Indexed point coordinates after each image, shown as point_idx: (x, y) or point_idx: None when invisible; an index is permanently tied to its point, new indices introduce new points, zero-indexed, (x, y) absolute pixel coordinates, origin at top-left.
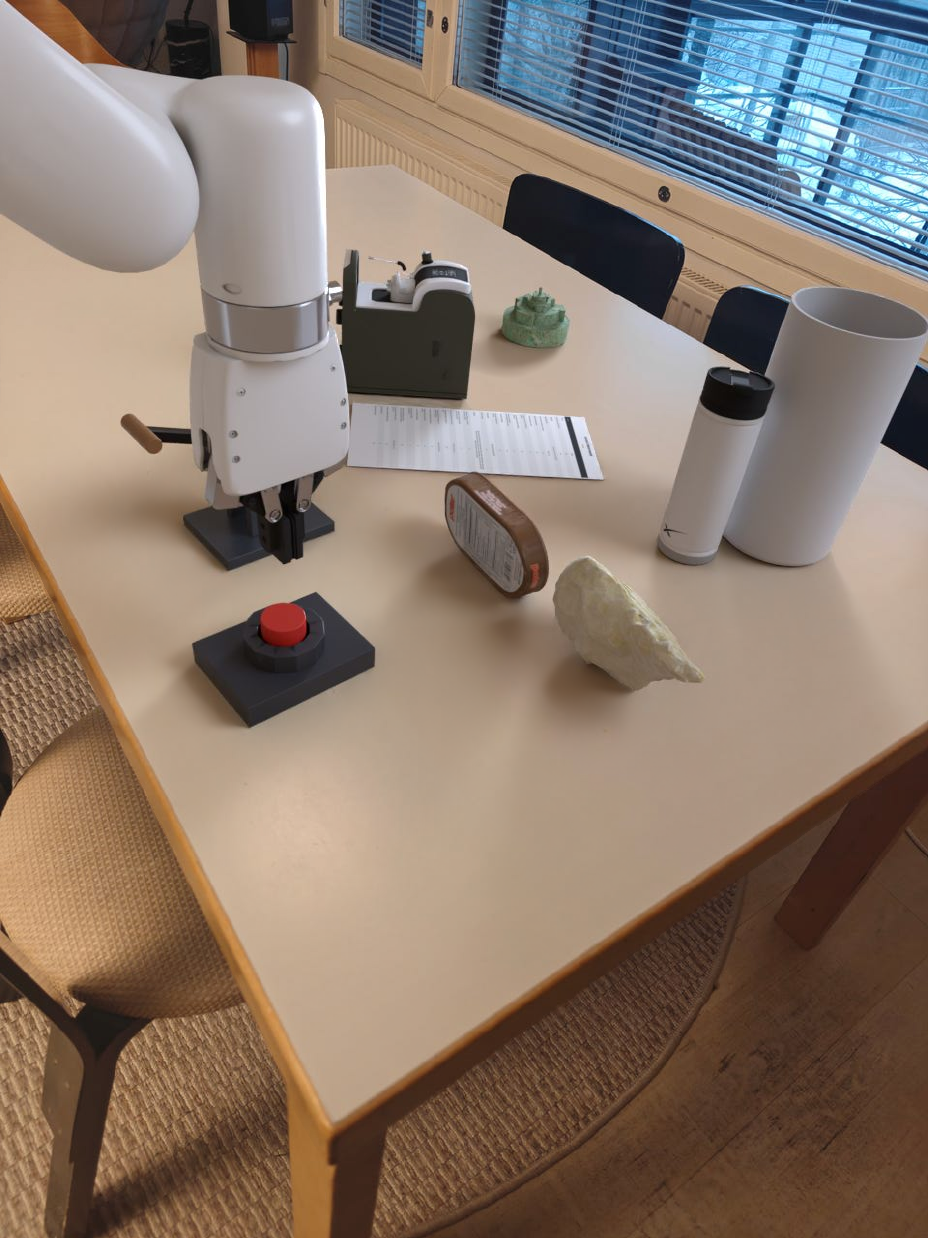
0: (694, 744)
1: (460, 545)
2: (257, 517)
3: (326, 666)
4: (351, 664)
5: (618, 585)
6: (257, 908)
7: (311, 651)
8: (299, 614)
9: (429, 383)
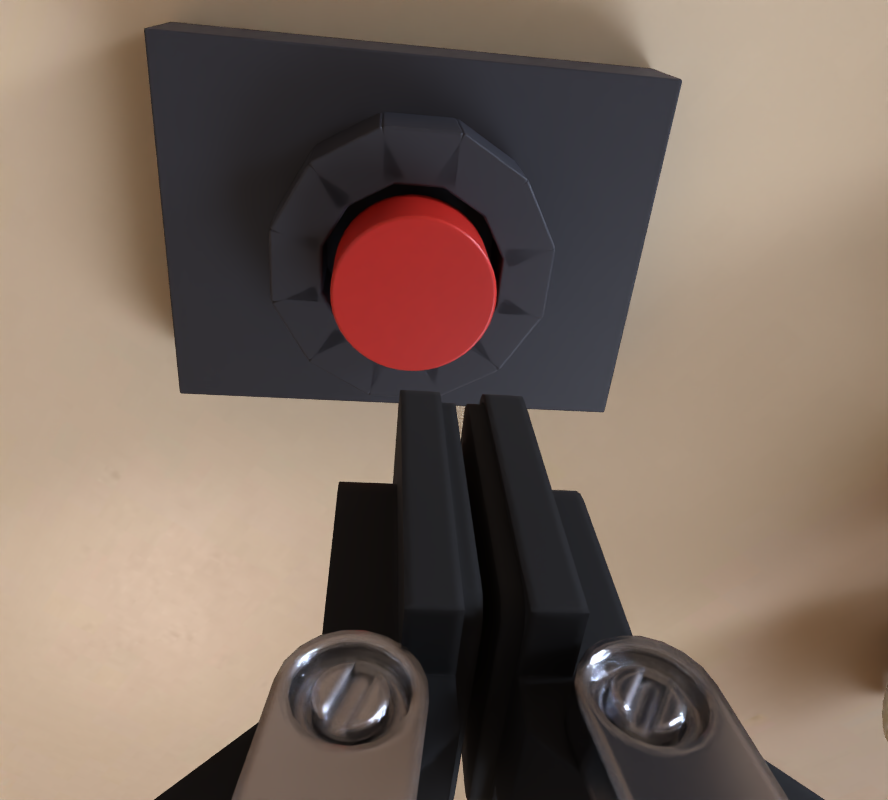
0: (817, 789)
1: None
2: (324, 618)
3: (450, 392)
4: None
5: None
6: (26, 667)
7: None
8: (467, 324)
9: None
